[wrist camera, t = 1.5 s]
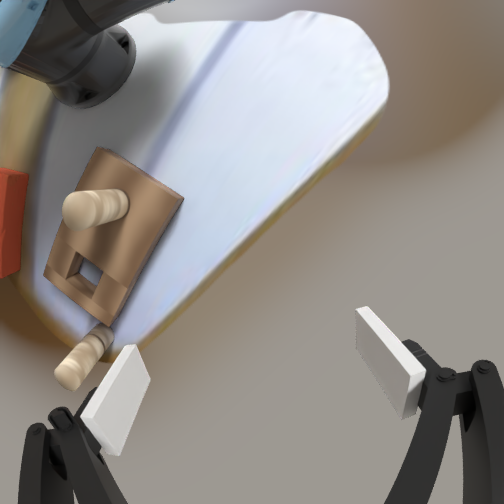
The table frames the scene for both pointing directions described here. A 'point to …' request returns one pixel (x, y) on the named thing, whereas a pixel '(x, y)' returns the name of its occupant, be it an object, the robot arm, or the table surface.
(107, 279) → the walnut board
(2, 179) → the brick
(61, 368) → the beech leg
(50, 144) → the table surface
